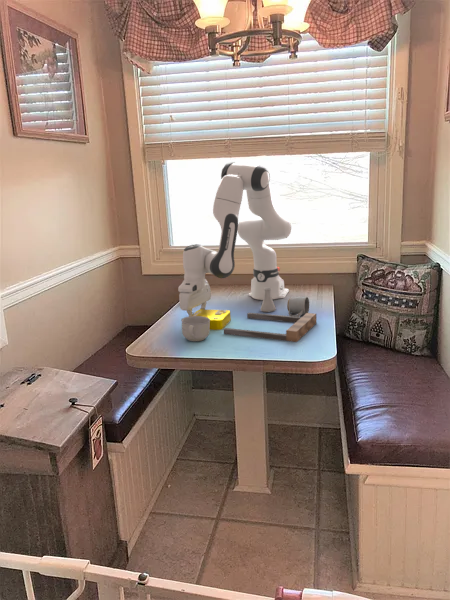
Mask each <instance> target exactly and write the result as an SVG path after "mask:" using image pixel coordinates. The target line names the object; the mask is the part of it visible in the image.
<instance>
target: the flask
mask: <svg viewBox="0 0 450 600" xmlns="http://www.w3.org/2000/svg"><path fill="white" fill-rule="evenodd" d="M264 290H265V295H264V299H263V300H262V303H261V306H260V309H259V310H260V312H264V313H273V312H275V311H277V308H276V306H275V303H274V301H273V300H274V299H272V297H271V288H264Z"/></svg>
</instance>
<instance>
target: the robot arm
mask: <svg viewBox="0 0 450 600" xmlns="http://www.w3.org/2000/svg"><path fill="white" fill-rule="evenodd" d="M270 178H271V176H270V172H269V170H268V168H266V167H265V166H262V165H256V164H253V163H248V162H247V163H245V162H244V163H243V162H235V161H231V162H227V163H226V164H224V166H223V167H222V169H221V172H220V183H219V185H218V187H217V191H216V192H215V193H216V194H215V198H214V200H213V207H212V208H213V209H212V214H213V216H214V218H215V220H216V221H217V222H218V224H219V226H220V229H221V234H220V240H219V247H218V250H215V249H214V250H213V249H210V248H207V247H204V246H202V245H201V244H197V243H196V244H191V245H187V246H186V247H185V248H184V249H183V253H182V268H183V271H184V274H183V279H184V280H182V283H181V284H180V285H179V286H178V287H177V288H178V289H177V290H178V292H179V294H178V297H179V299H178V300H179V309H181V311H184V312H185V311H186V313H187V315H188V317H190V316H192V315H194V313H193V309H194V308H196V307H198V306H200V308H199V310H200V309H203V310H206V306H207V302H208V301H210V300H211V298H212V293H211V292H212V290H211V287H210V284H209V281H208V280H207V279H206V274H210V275H213V276H214V277H216V278H218V279H226V278H228V277H230V276H231V275H232V274H233V272H234V270H235V264H236V263H235V247H236V241H237V237H238V236H239V237H240V238H241V240H243V241H245V242H246V243H247V245H248V247H249V248H250V250H251V252H252V257H253V258H252V259H253V272H252V273H253V274H252V275H253V278H251V280H250V281H251V283H250V284H251V285H250V292H249V293H248V296H249V297H251V298H252V299H255V300H258V301H259V300H260V301H263V299H264V295H265V290H264V288H271V297H272V300H277V299H285V298H286V296H287V294H288V293H289V291H290V290H289V288H286V287H285V281H284V279H282V277H281V276H280V273H279V272H280V270H281V268H280V266H277V265H278V263H277V261H278V258H277V253H276V250H275V249H273V248H272V247H270V246H268V245H266V243H265V241H278V240H284V239H287V238H288V237H289V236H290V234H291V232H292V225H291V222H290V220H289V218H287V217H285V216H283V215H282V214H281V213H279V211H278V210H277V208H276V207H275V205H274V201H273V196H272V188H271V183H270V182H271V181H270V180H271V179H270ZM244 190H245V191H246V198H247V204H248V209H249V211H250V212H251V213H252V214H253V215H255V216H256V217H255V216H253V217H252V216H251V217H245V218H243V219H241V220H239V214H240V210H241V205H242V201H243V193H244ZM237 235H238V236H237Z"/></svg>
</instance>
